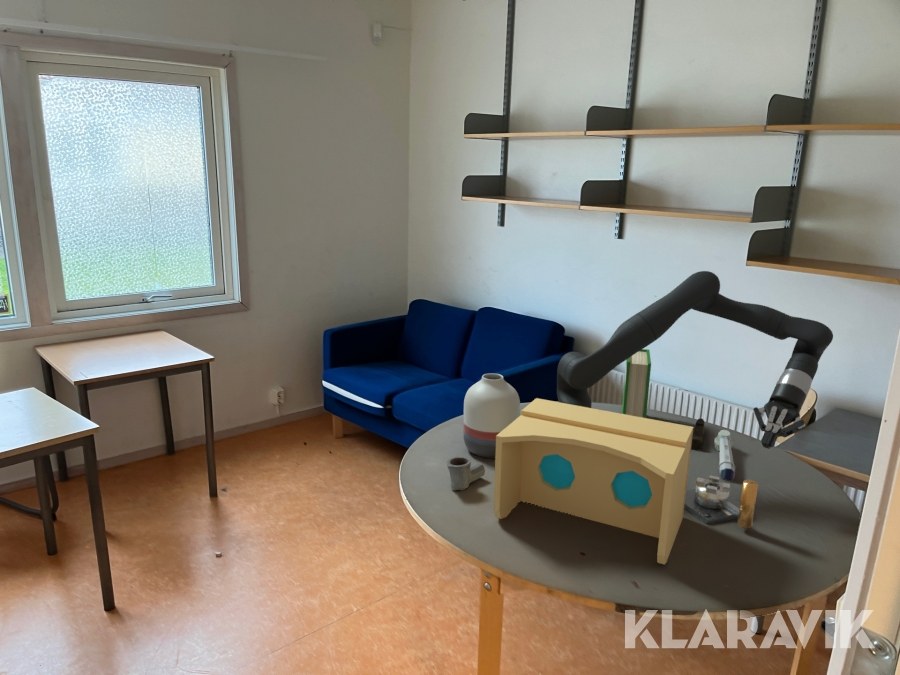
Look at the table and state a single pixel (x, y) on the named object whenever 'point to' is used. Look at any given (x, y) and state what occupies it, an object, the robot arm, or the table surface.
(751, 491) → the crank handle
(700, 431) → the hand tool
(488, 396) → the vase
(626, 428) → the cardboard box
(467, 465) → the pipe
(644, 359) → the hardback book
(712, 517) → the hub plate
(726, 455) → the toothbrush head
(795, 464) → the table surface
